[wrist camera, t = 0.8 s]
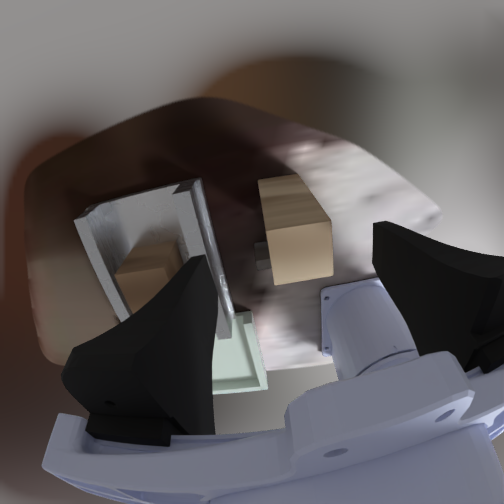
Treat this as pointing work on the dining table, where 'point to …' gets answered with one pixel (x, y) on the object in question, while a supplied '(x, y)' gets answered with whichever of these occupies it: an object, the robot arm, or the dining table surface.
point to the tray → (239, 359)
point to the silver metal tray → (154, 238)
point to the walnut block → (147, 272)
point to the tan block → (293, 232)
